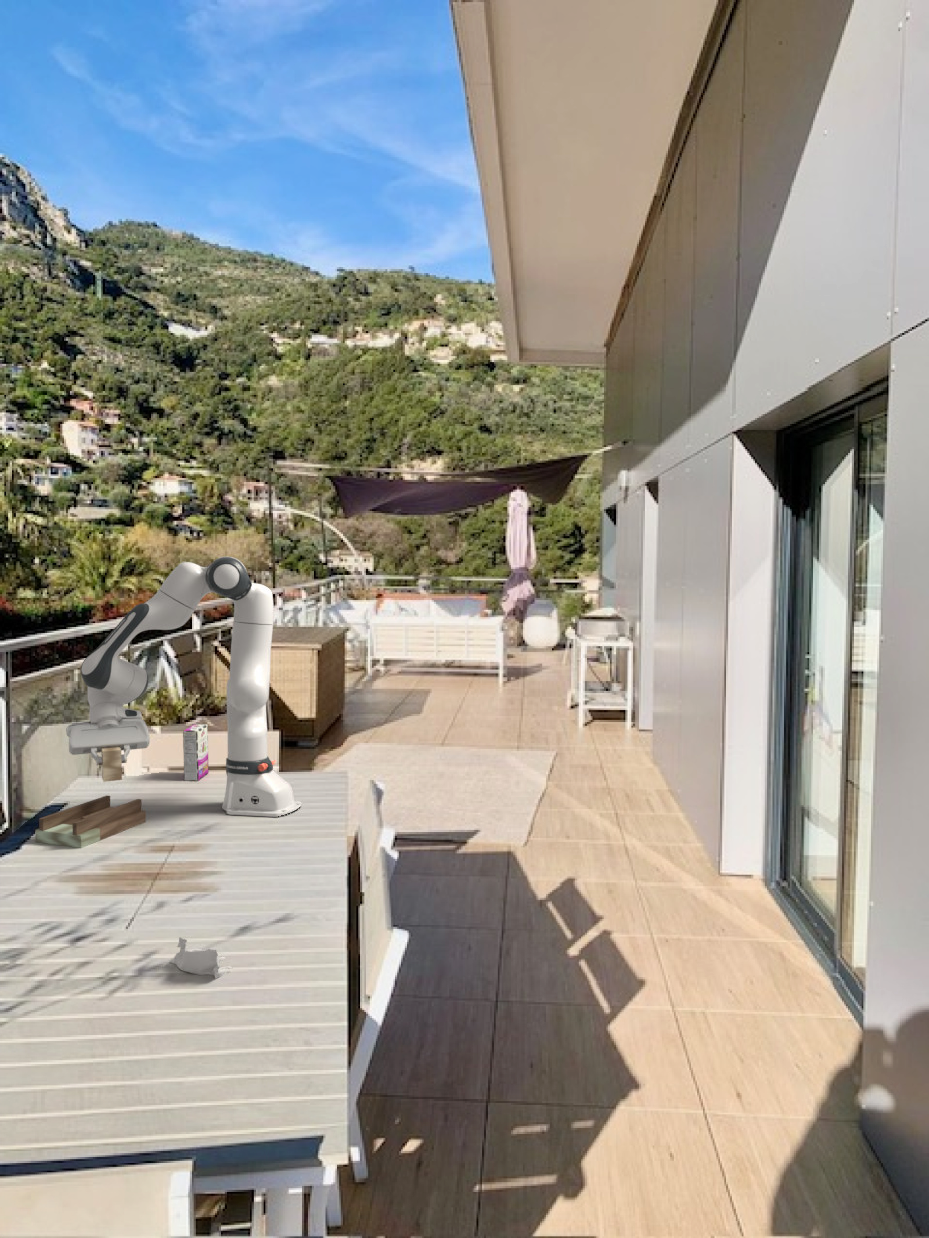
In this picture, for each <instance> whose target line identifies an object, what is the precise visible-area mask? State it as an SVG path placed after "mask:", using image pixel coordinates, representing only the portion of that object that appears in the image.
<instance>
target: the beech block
mask: <svg viewBox="0 0 929 1238" xmlns="http://www.w3.org/2000/svg"><path fill="white" fill-rule="evenodd" d="M100 753H101V757H102V760H103V765H101V776H102V777H101V778H102V781H103V782H104V783H105V782H114V781H116V782H117V781H122V780H123V768H122V764H123V763H121V755H122V751H121V749H120V747H111V748H101V752H100Z"/></svg>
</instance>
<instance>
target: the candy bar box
mask: <svg viewBox="0 0 929 1238" xmlns="http://www.w3.org/2000/svg"><path fill="white" fill-rule="evenodd" d="M208 731H209V727H208V724H204V723H203V724H200V723H199V724H198V723H197V724H192V725H190V726H189V727H188V728H185V729H184V730H182V738H183V739H182V742H183V744H182V745H183V746H182V747H183V781H185V782H199V781H200V780H201V779H203V778H204V777H205V776H207V775H208V774H209V732H208Z"/></svg>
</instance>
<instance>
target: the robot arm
mask: <svg viewBox="0 0 929 1238" xmlns="http://www.w3.org/2000/svg"><path fill="white" fill-rule="evenodd" d="M209 593H215V594H217V595H219V596H221V597H225V598H227V599H229V600H232V602H233V605H234V606H233V607H234V608H233V610H234V611H233V612H234V613H233V624H232V634H231V645H230V662H229V664H230V665H229V678H228V680H227V682H226V721H227V757H226V759H225V772H226V773H225V774H226V777H227V778H226V787H225V792H224V798H223V801H222V806H221V808H222V810H224V811H225V812H226V813H225V814H227V815H229V816H230V815H231V816H235V815H236V816H253V817H272V818H273V817H274V818H275V817H276V818H278V816H279V817H282V816H281V815H284V814H287V813H289V812H291V811H294V810H296V809H297V808H299V807H300V806H301V804H302V802H301V801H300V800H299V801H298V800H295V798H294V792H293V788H292V785H291V784H290V783H289V782H287V781H286V780H285V779H284V778H283V777H282V776H280V775H279V774H278V773H277V772H276V771H274V767H273V765H276V762H277V761H276V760H277V759H274V760H270V757H269V755H268V723H267V722H268V721H267V702H268V700H269V696H270V680H271V679H270V678H271V658H272V653H271V652H272V642H273V632H274V631H273V629H274V615H275V613H274V611H275V609H274V608H275V607H274V606H275V605H274V597H273V593H272V590H271V589H270V588H269V587H267V586H266V585H264V584H261V583H256V582H252V580H251V578H250V575H249V574H248V571H247V568H246V566H245V565H244V564H243V562H242V561H241V560H239V559H238V558H236V557H232V556H221V557H218V558H217V559H214V560H213V561H212V562H211V563H210V564H208V565H207V566H205V567H204V566H201V565H199V564H197V563H195V562H191V561H184V562H181V563H179V564H178V565H177V566H176V567H175V568H174V569H173V570H172V571H171V572H170V574H169V575H168V576H167V578H165V580H164V581H163V582H162V584H161V586H160V587H159V589H158V591H156V593H155V594H154V595H153V596H152V597H151V598H149V600H147V601H145V602H144V603H138V604H137V605H135V606H134V607H133V608H132V609H131V610H130V611H128V613H127V614H126V615H124V617H123V618H122V619H121V620H120V622H119V623H118V624H117V625H116V626H115V627H114V628H113V629H112V631H111V632H110V633H109V634H108V635H107V637H106V638H105V639H104V640H103V641H102V642H101V644H99V646H98V647H97V648H96V649H94V650H93V651H92V652H91V653H90V654H88V656H86V657H85V659H84V660H83V662H82V664H81V666H80V675H81V678H82V681H83V682H84V684H85V686H86V687H87V702H88V705H89V713H88V714H89V721H82V722H72V723H71V724H69V725H68V726H66V735H67V737H68V738H69V739H68V752H69V754H71V755H73V756H75V755H87V754H90V755H91V758H92V759H93V760H95V764H96V766H102V765H103V760H102V756H99V755H98V754H99V753H101V748H111V747H120V749H121V752H122V751H123V754H121V763H122V764H126V763H127V759H128V758H127V757H128V755H129V754H130V750H143V749H147V748H148V747H149V745H150V742H151V741H150V739H151V738H150V733H149V732H150V731H149V729H148V726H147V723H146V722H145V720H144V719H143V715H142V712H141V710H136V709H131V708H127V707H124V706H125V705H128V704H130V703H132V702H133V701H136V700H138V699H139V698H141V697H142V696H143V695H144V694H145V693H146V691H148V687H149V675H148V672H147V670H146V668H144V667H142V666H139V665H137V664H136V663H133V662H130V661H127V660H125V659H122V658H120V657H119V655H120V654H121V653H122V652H123V650H125V648H126V647H127V646H128V645H129V644H130V642H131V641H132V640H133V639H134V638H135V637H136V636H137V635H138V634H140V633H142V632H144V631H149V630H150V631H151V630H158V631H159V630H161V631H168V630H169V631H171V630H175V629H178V628H181V627H182V626H184V625H185V624H186V623H187V622H188V621H189V620H190V619H191V617H192V615H193V614H194V612H195V611H196V609H197V607H198V606H199V603H200V602H201V601H202V599H203V598H204V597H205V596H206V595H208V594H209ZM287 815H288V814H287ZM284 816H285V815H284Z"/></svg>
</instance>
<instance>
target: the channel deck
mask: <svg viewBox="0 0 929 1238" xmlns="http://www.w3.org/2000/svg"><path fill="white" fill-rule="evenodd" d="M142 807H143V806H142V799H140V798H136V799H134V800H131V801H128V802H125V803H122V804H119V805H117V806H111V795H104V796H101V797H98V798H95V799H92V800H89V801H87V802H84V803H80V804H78V805H75V806H72V807H69V808H66V809H63V810H60V811H57V812H54V813H51V814H49V815H45V816H43V817H39V818H38V820H39V822H38V823H39V824H38V825H39V828H36V829H35V830H34V831H35V833H34V838H35V839H34V840H35V842H36V843H42V844H49V845H55V846H56V845H57V846H63V847H71V848H78V849H83V848H85V847H88V846H89V845H92V844H94V843H97V842H100V841H102V840H105V839H107V838H110V837H111V836H114V835H116V834H119V833H122V832H123V831H126V830H129V829H132V828H134V827H136V826H138V825H141V824H144V823H146V822H147V821H146V820H147V819H146V815H147V814H146V813H147V812H146V810H142V809H143V808H142Z"/></svg>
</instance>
